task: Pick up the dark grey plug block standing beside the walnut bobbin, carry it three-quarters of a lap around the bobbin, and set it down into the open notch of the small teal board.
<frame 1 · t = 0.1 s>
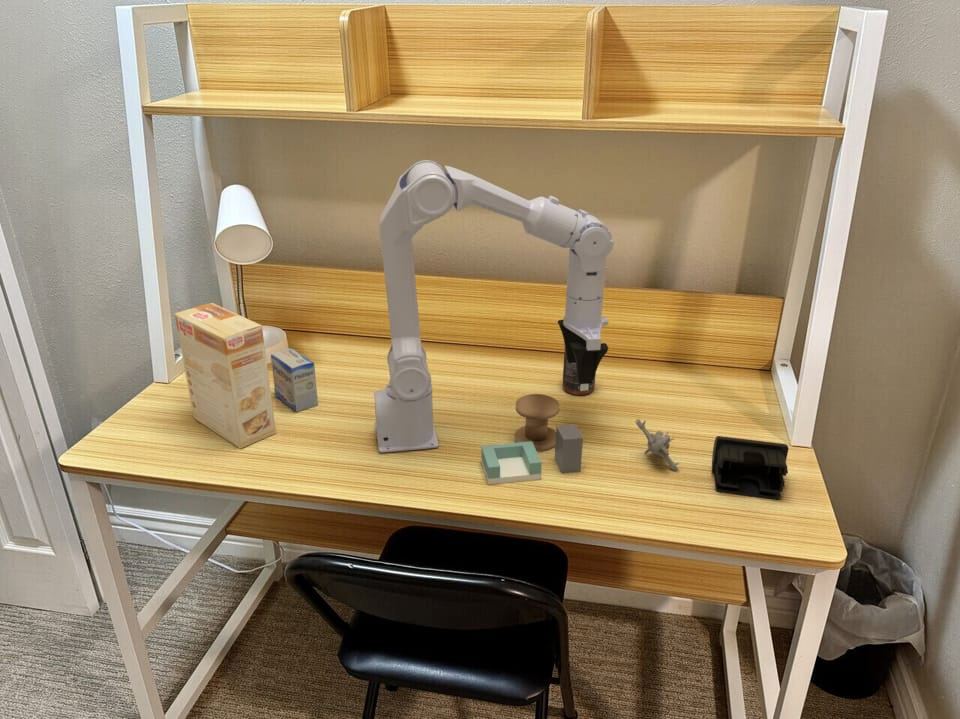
hand: (579, 372, 123), 10 cm above the table, tool pointing down, fingers open, 7 cm apart
end cap: (745, 484, 113), on the table
grey animal figure: (653, 458, 119), on the table
medicine box: (296, 402, 135), on the table
supplement bottle: (578, 389, 139), on the table
coffeecake box: (234, 426, 127), on the table
notch board: (510, 470, 115), on the table
bobbin: (536, 439, 123), on the table
plug: (567, 465, 116), on the table
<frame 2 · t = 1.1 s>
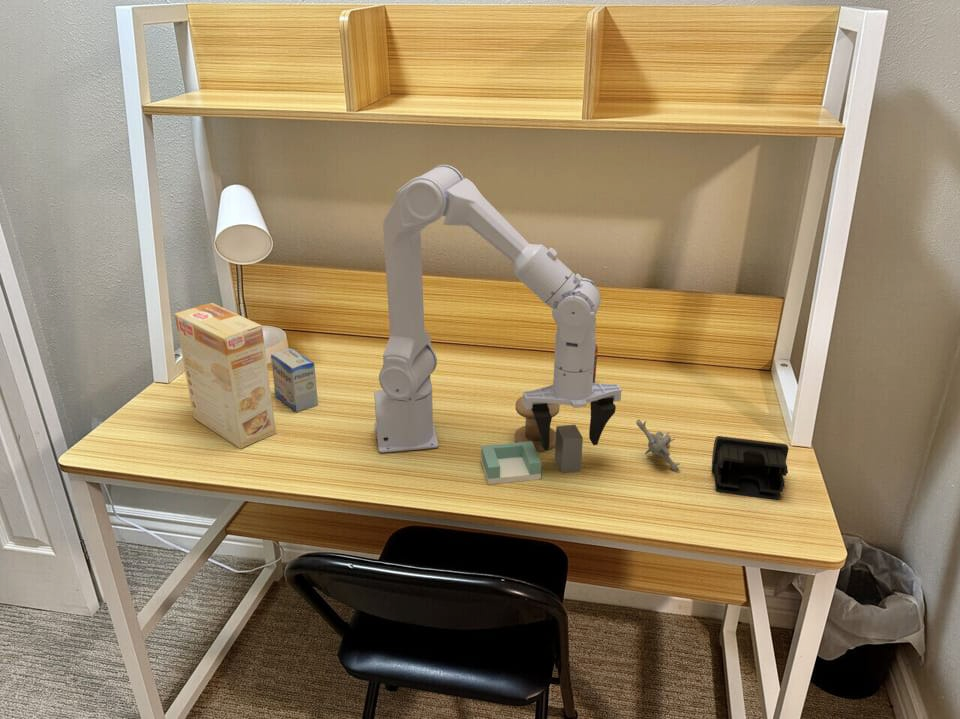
hand: (569, 444, 115), 4 cm above the table, tool pointing down, fingers open, 7 cm apart
nothing on the table moved.
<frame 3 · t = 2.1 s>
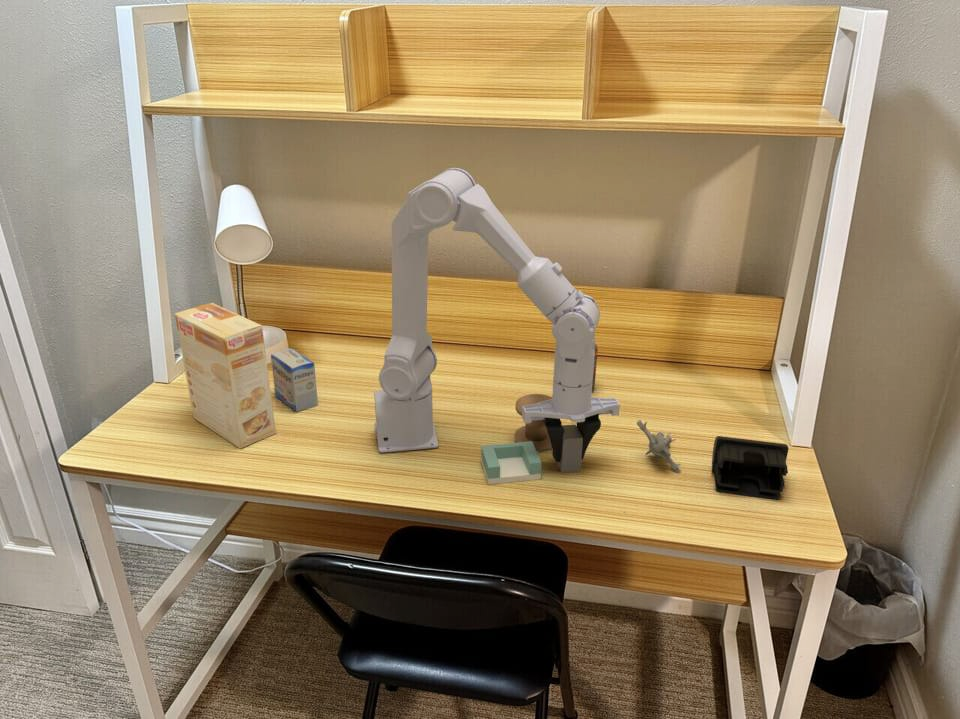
hand: (567, 457, 116), 1 cm above the table, tool pointing down, fingers closed on plug, 3 cm apart
plug: (567, 465, 116), on the table, touching gripper
everything else where it was.
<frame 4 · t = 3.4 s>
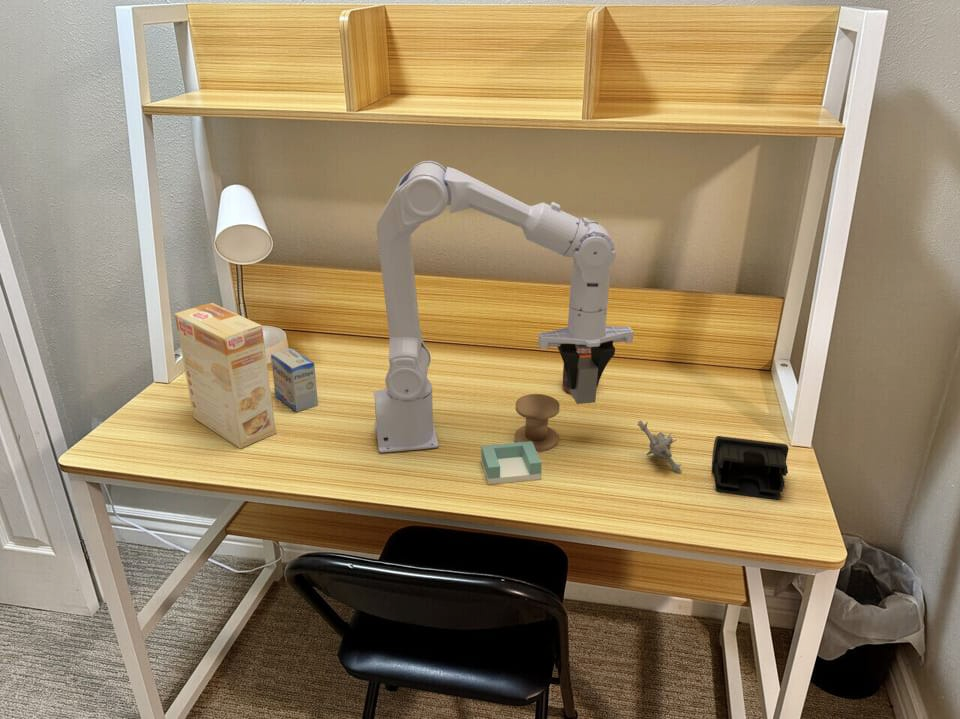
hand: (582, 385, 119), 10 cm above the table, tool pointing down, fingers closed on plug, 3 cm apart
plug: (582, 397, 120), point 8 cm above the table, touching gripper
everything else where it was.
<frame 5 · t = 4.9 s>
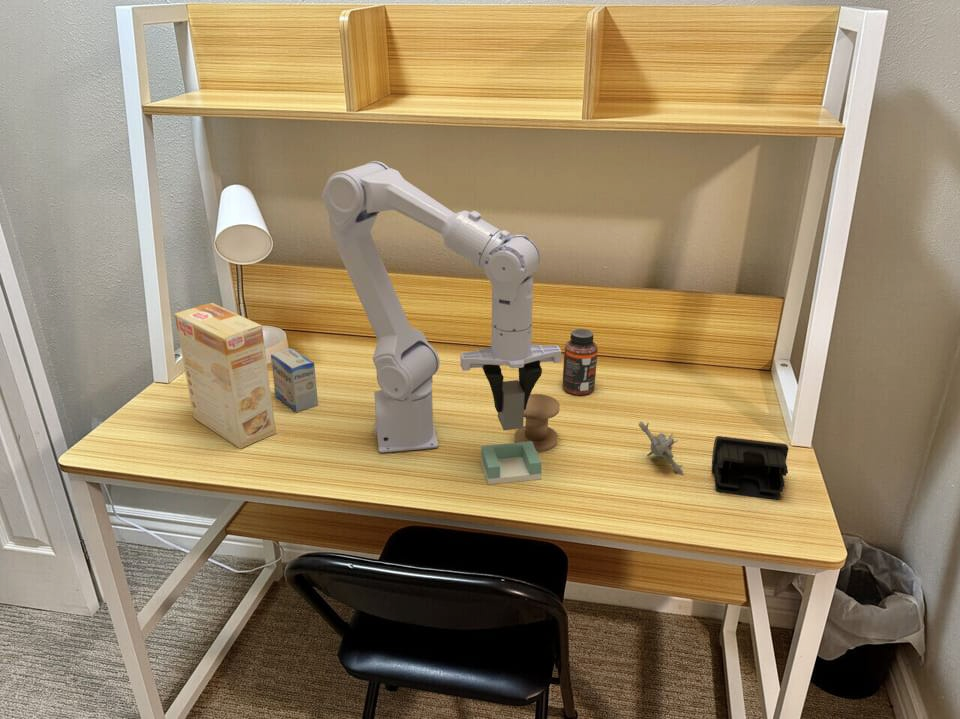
hand: (510, 407, 112), 10 cm above the table, tool pointing down, fingers closed on plug, 3 cm apart
plug: (510, 422, 113), point 8 cm above the table, touching gripper
everything else where it was.
when the fingers open (4 cm above the table, at t = 6.5 s): plug stays where it is, resting on notch board.
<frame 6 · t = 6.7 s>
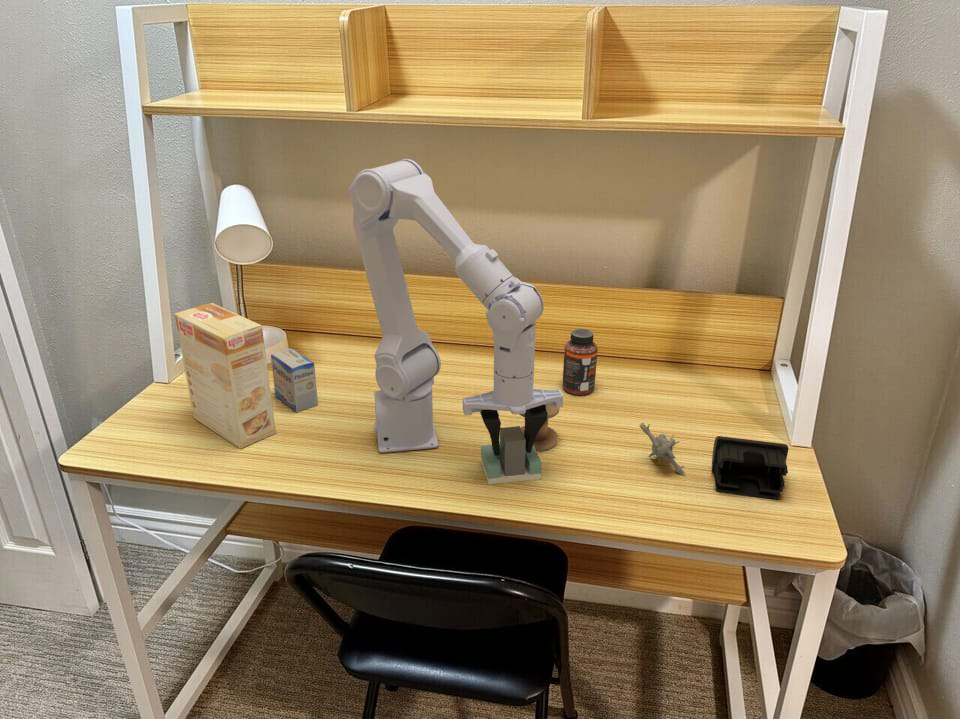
hand: (511, 450, 113), 4 cm above the table, tool pointing down, fingers open, 4 cm apart
plug: (511, 467, 114), point 1 cm above the table, touching notch board
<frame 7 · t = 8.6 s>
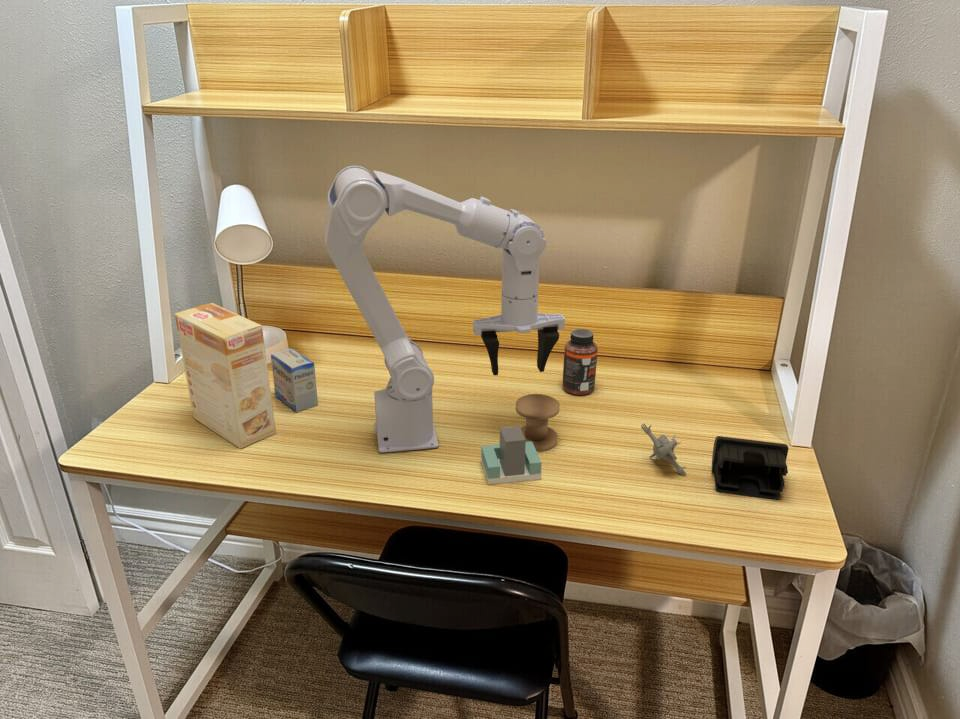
hand: (517, 371, 124), 10 cm above the table, tool pointing down, fingers open, 7 cm apart
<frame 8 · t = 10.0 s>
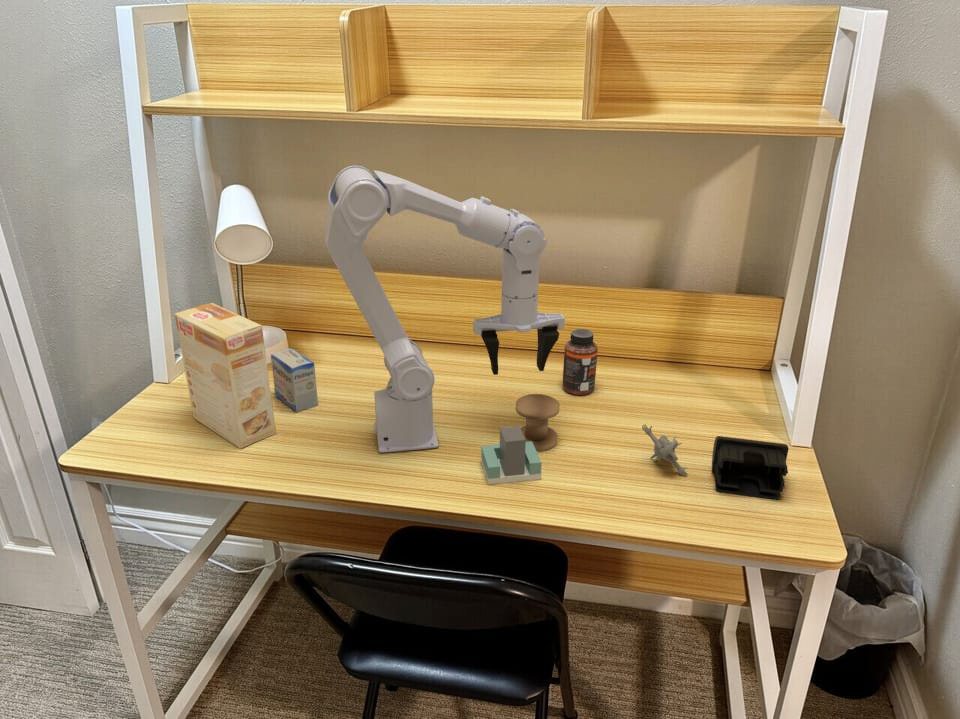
hand: (517, 370, 124), 10 cm above the table, tool pointing down, fingers open, 7 cm apart
at the end: plug 0.3 cm off-centre on the notch board, point 1.0 cm above the notch board's base; plug tilted 0°; the gripper is holding nothing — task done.
